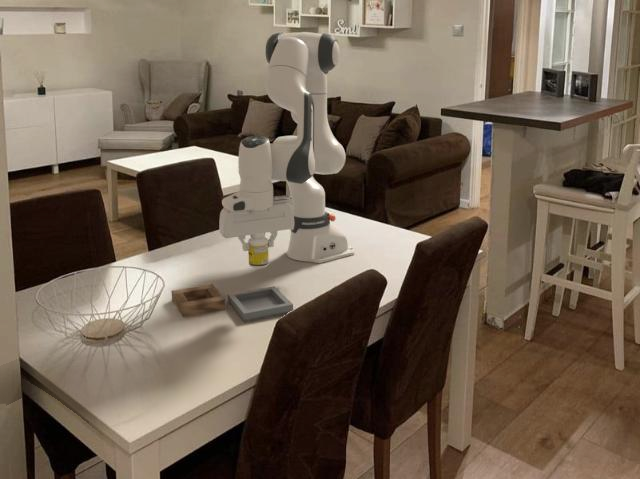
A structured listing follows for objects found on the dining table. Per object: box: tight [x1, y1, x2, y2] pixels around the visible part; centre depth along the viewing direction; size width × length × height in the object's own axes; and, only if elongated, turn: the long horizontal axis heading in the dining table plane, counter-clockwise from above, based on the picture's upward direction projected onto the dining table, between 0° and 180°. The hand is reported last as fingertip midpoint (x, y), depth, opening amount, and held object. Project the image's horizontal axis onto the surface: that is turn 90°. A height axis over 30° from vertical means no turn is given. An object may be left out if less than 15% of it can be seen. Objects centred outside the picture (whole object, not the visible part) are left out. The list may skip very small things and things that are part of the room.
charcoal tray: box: [227, 285, 294, 323], centre depth 202 cm, size 14×14×2 cm
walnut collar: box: [171, 283, 226, 318], centre depth 203 cm, size 12×12×3 cm
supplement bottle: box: [247, 232, 270, 269], centre depth 196 cm, size 5×5×10 cm
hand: (258, 248), depth 196 cm, fingers closed on supplement bottle, 5 cm apart
